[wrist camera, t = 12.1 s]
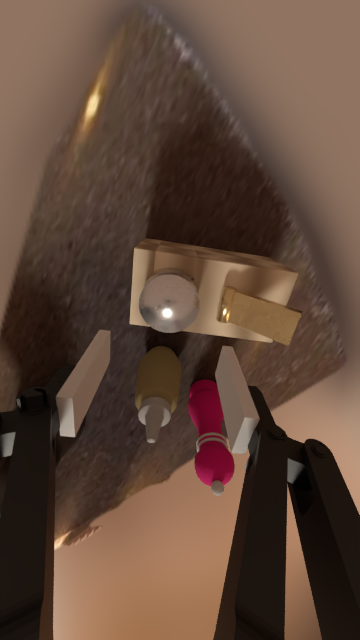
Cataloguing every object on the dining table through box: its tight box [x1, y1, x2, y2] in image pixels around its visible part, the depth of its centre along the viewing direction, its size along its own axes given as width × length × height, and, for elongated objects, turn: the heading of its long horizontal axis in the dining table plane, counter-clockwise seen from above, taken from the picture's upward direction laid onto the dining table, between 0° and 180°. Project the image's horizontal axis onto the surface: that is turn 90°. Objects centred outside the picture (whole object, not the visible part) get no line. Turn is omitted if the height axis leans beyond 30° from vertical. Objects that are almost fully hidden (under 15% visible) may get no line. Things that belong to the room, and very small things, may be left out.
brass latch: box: [216, 286, 303, 346], centre depth 27 cm, size 9×4×2 cm
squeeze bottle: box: [135, 346, 182, 443], centre depth 38 cm, size 8×8×18 cm
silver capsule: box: [139, 267, 200, 333], centre depth 31 cm, size 7×7×12 cm
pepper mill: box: [188, 379, 234, 496], centre depth 40 cm, size 7×7×20 cm
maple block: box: [130, 238, 298, 343], centre depth 34 cm, size 20×10×10 cm, turn 82°
